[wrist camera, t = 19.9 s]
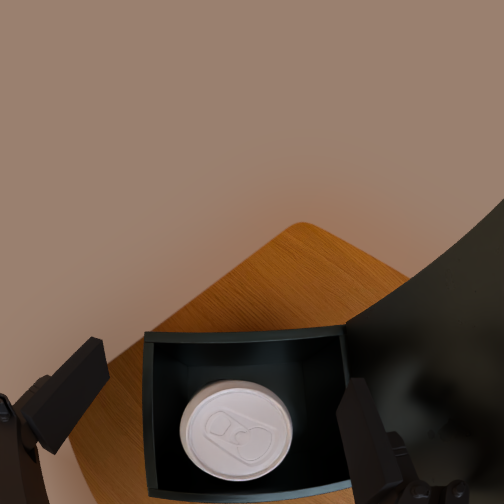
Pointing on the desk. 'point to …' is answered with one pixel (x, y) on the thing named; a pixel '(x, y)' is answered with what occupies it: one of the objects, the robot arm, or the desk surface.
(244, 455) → the beverage can
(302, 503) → the desk surface
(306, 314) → the desk surface
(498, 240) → the bin lid
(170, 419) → the trash bin
